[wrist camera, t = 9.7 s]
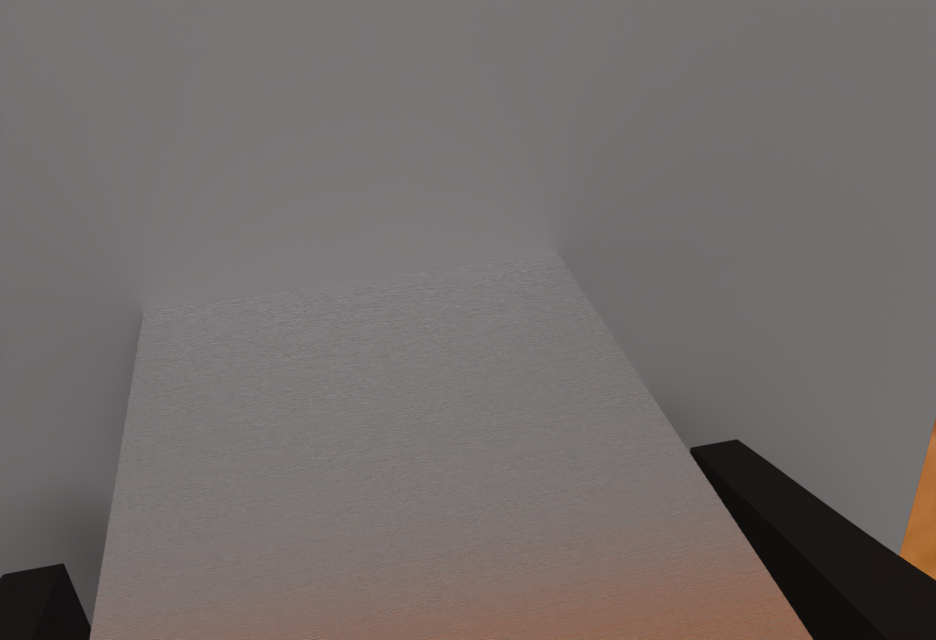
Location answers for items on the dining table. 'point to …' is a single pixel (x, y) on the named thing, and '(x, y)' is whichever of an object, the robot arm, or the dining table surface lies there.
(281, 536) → the square socket
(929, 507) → the dining table surface
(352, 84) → the block
